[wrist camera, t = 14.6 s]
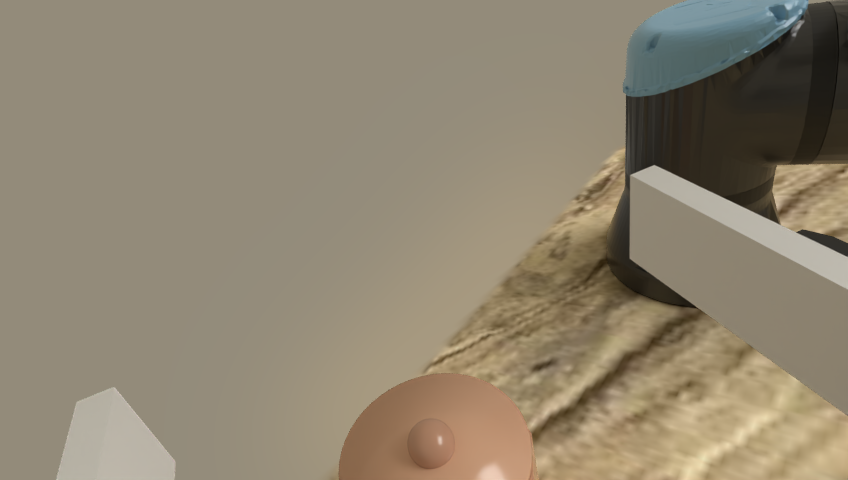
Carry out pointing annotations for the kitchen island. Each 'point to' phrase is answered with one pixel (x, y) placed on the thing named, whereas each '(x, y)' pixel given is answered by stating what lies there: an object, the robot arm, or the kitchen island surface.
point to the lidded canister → (440, 434)
